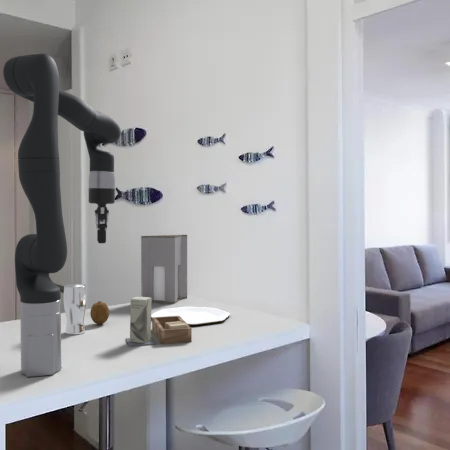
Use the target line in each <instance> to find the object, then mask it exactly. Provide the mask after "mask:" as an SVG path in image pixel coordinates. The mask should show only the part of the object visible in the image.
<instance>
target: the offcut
mask: <svg viewBox="0 0 450 450" xmlns="http://www.w3.org/2000/svg"><path fill="white" fill-rule="evenodd" d="M177 328H186V324H185V323H183V322H181V321H176V322H167V323H165V329H177Z"/></svg>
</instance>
